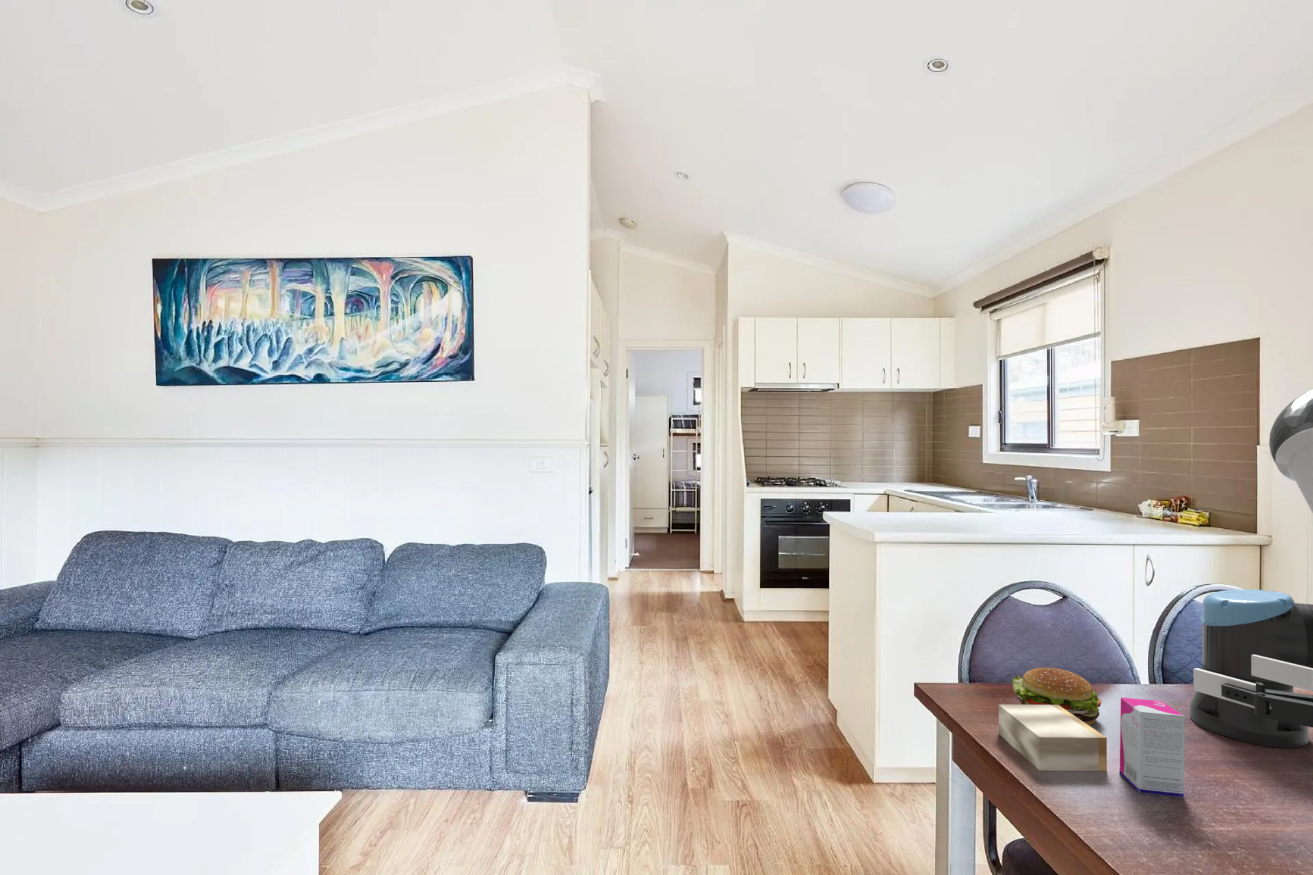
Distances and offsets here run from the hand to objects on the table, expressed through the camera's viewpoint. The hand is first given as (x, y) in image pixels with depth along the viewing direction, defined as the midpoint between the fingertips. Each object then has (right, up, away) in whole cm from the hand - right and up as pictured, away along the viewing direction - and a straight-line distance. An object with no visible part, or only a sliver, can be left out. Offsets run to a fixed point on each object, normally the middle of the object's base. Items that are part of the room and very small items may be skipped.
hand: (1224, 671), depth 85 cm
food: (-2, -20, +32) cm, 38 cm away
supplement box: (-3, -20, +8) cm, 21 cm away
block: (-12, -19, +18) cm, 29 cm away
